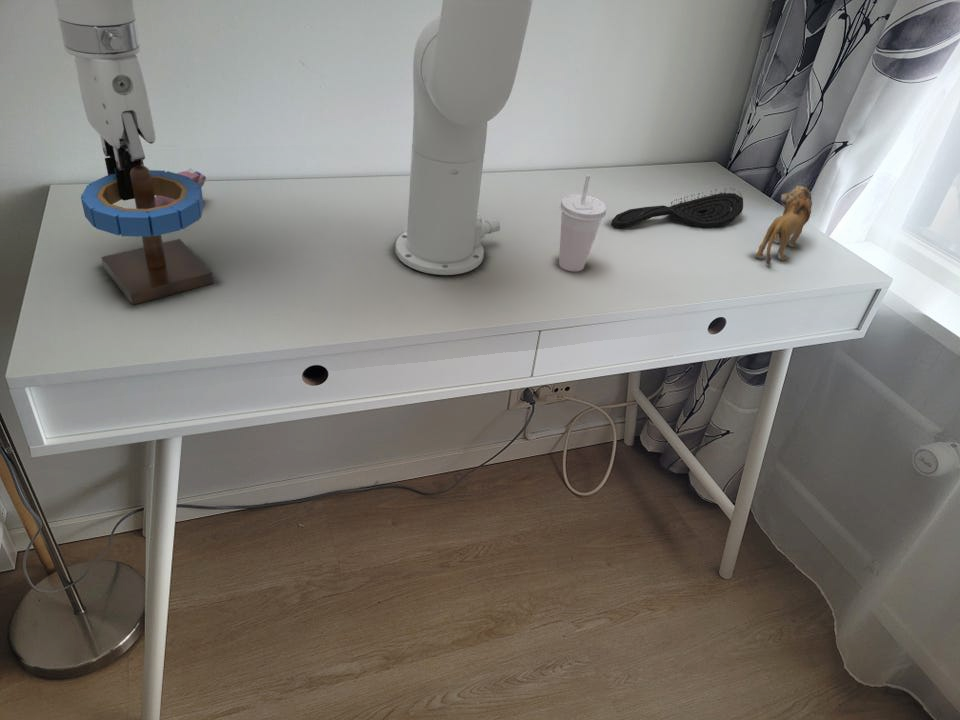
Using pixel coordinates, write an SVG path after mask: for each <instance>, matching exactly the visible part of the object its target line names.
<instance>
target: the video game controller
mask: <svg viewBox="0 0 960 720" xmlns="http://www.w3.org/2000/svg"><path fill="white" fill-rule="evenodd" d="M175 173H176V172H175ZM176 174H180V175H183V176H187V177H189V178H191V179H192V180H193V181H194V182H196V183H197V184H198V185H199V186H200V187H201V189H202V188H203V186H204V184H205V182H206V179H207V177H206V175H204V174H203V173H201V172H199V171H198V170H193V169H192V168H191V167H189V168H188V170H185V171H179V172H177V173H176ZM173 201H175V199H171V198H168V197H164V196H155V202H156V207H159V206H164V205H168V204H170V203H171V202H173Z"/></svg>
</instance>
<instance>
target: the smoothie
mask: <svg viewBox="0 0 960 720" xmlns="http://www.w3.org/2000/svg"><path fill="white" fill-rule="evenodd" d="M590 179H591V174H585V179H584V184H583V189H582V193H581V194H580V193H575V194H574V193H572V194H568V195H565V196H564V197H562V199H561V200H560V204H559V209H560V211H561V216H560V217H561V218H560V234H559V235H560V236H559V252H558V265H559V267H560V268H561V269H563V270H565V271H569V272H580V271H582V270H584V268H585V265H586V262H587V260H588V258H589V255H590V252H591V249H592V246H593V244H594V241H595V238H596V236H597V233H598V231H599V228H600V225H601V222H602V219H603V218H605V217H606V215H607V213H606V212H607V204H606V203H605V202H604V201H602V200H601V199H600V198H599V199H598V198H597V197H594V196H591V195H587V194H588V189H589V184H590Z"/></svg>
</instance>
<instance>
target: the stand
mask: <svg viewBox="0 0 960 720" xmlns="http://www.w3.org/2000/svg"><path fill="white" fill-rule="evenodd" d="M149 170H150V169H149V168H148V167H147V166H146V165H144V166H143V165H136V166H134V167H133V168H132V169H131V171H130V177H131V182H132V187H133V193H134V198H135V199H134V203H135V204H134V205H135V209H149V208H154V207H156V202H155V197H156V196H154V190H153V184H152V178H151V173H150V171H149ZM141 240H142V247H138V248H134V249H130V250H125V251H121V252H117V253H113V254H108V255H104V256H101V262H102V267H103V269H104V270H105V271H106V273H107V274H108V276H109V277H110V278H111V279H112V281H113V282H114V283H115V284H116V286H117V287H118V288H119V290H120V291H121V292H122V294H124V296H125V297H126V299H127V300H128V302H130V304H131V305H132V306H135V305H138V304H142V303H145V302H149V301H153V300H156V299H160V298H164V297H167V296H172V295H175V294H179V293H182V292H187V291H189V290H193V289H196V288H200V287H205V286H207V285H212V284H214V280H213V278H214V277H213V272H212V271H211V270H210V269H209V268H208V266H206V264H205V263H203V262H202V261H201V259H199V257H198V256H197V255H195V253H194V252H193V251H192V250H191V248H189V247H188V246H187V245H186V244H185V243H184V242H183V241H182V239H180V238H176V239H173V240H168V241H164V242H163V238H162V235H158V236H153V235H151V237H141Z"/></svg>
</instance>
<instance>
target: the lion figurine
mask: <svg viewBox="0 0 960 720" xmlns="http://www.w3.org/2000/svg"><path fill="white" fill-rule="evenodd" d="M780 197H781V198H780V200H781V202H782V203H781V204H782V206H784V210H783V212H782V215H779V216H778V217H776V218H775V219H774V220H773V221H772V222H771V224H770V225H769V226H768V228H767V231H766V232H765V235H764V237H763V240H762V242H761V243H760V245H759V246H758V250H757V253H755V256H754V257H755V258H756V259H763V258H764V251H765V250H766V260H765V263H766V265H771V261H772V258H771V249H772V247H773V243H776V244H779V247H778V249H777V258H778V259H779V260H781V261H786V260H787V256H786V254H784V251H785V249H786V247H787V245H788V246H789V247H791V248H796V247H797V246H798V245H797V241H798V239H799V237H800V236H801V234H802V232H803V229H804V226H805V225H806V224H807V223H808V222H809V220H810V217H811V214H812V206H813V201H812V192H810V190H809V189H808V187H805V186H802V185H796V186H795V188H793V189H792V190H791V191H789V192H785V193H781V196H780ZM766 246H767V247H766Z"/></svg>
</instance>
